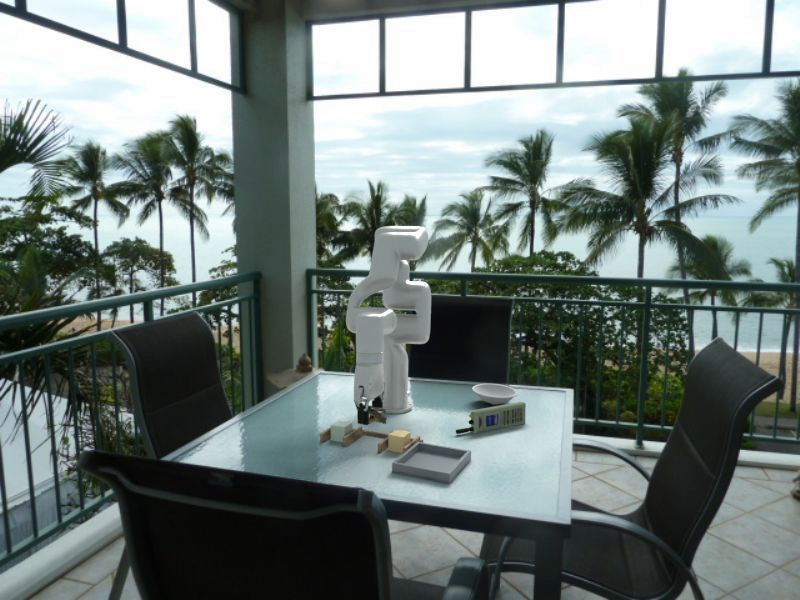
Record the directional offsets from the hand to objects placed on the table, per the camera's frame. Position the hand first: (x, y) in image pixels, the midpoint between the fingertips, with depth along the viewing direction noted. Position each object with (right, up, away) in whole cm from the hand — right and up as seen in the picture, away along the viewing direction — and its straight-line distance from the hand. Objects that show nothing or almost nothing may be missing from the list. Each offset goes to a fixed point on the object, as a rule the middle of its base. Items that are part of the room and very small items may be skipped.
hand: (370, 418), depth 164 cm
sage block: (-8, -7, +4) cm, 11 cm away
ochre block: (+8, -8, -4) cm, 12 cm away
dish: (+40, -3, +37) cm, 55 cm away
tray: (+16, -9, -15) cm, 24 cm away
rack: (0, -7, 0) cm, 7 cm away
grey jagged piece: (0, -1, 0) cm, 1 cm away
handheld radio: (+36, -6, +13) cm, 38 cm away
